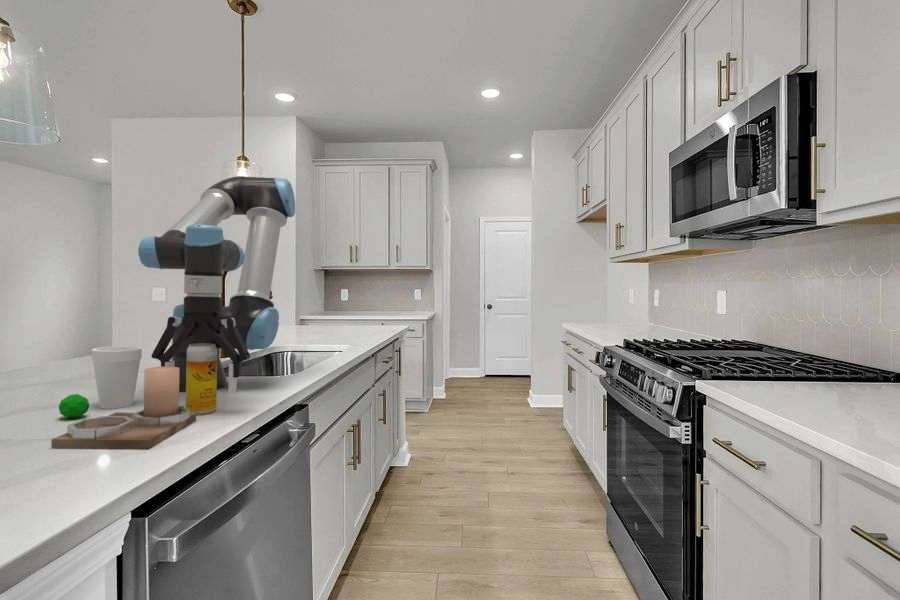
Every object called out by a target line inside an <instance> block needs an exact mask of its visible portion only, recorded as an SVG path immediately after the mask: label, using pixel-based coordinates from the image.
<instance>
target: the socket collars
mask: <svg viewBox="0 0 900 600" xmlns="http://www.w3.org/2000/svg"><path fill="white" fill-rule="evenodd" d="M132 413H133V414H132V419H131V418H129V417H128V416H127V417H126V416H109V415H106V416H105V415H104V416H103V415H102V416H97V417H92V418H91V417H90V418H84V419H80V420H78V421H74V422H72V423H70V424H68V425H66V433H67V434H68V435H69V436H70V437H71V438H73V439H98V438H104V437H110V436H116V435H120V434H123V433H125V432H127V431H129V430H131V429H133V423H135V424H136V425H139V426H162V425H168V424H174V423H180V422H182V421H184V420H186V419H187V418H189V417H190V410H189V409H187V408H186V406H181V405H179V414H175V415H169V416H163V417H144V408H142V409H140V410H137V411H135V412H132ZM102 425H118V426H112V427H106V428H99V429H84V428H90V427H96V426H102Z"/></svg>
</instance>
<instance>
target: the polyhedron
mask: <svg viewBox="0 0 900 600" xmlns="http://www.w3.org/2000/svg"><path fill="white" fill-rule="evenodd" d="M89 408H90V402H89V400H88V398H87V397H84V396H83V395H81V394H78V393H75V394H74V393H73V394H70V395H68V396H66V397H65V398H63V399H62V400H61V401H60V403H59V404H58V410H59V413H60V415H62V416H63V417H65V418H67V419H69V420H73V419H79V418H80V417H82V416H83V415H85V414H86V413H87V412H88V410H89Z"/></svg>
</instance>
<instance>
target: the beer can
mask: <svg viewBox="0 0 900 600" xmlns="http://www.w3.org/2000/svg"><path fill="white" fill-rule="evenodd" d="M217 390H218V388H217V348H216V346H215V344H211V343H198V344H190V345H189V347H188V349H187V359H186V391H185V408H187V409H189V410H190V413H196V416H199V415H200V416H201V415H208V414H212V413H213V412H214V411H215V409H217V394H218V393H217Z"/></svg>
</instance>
